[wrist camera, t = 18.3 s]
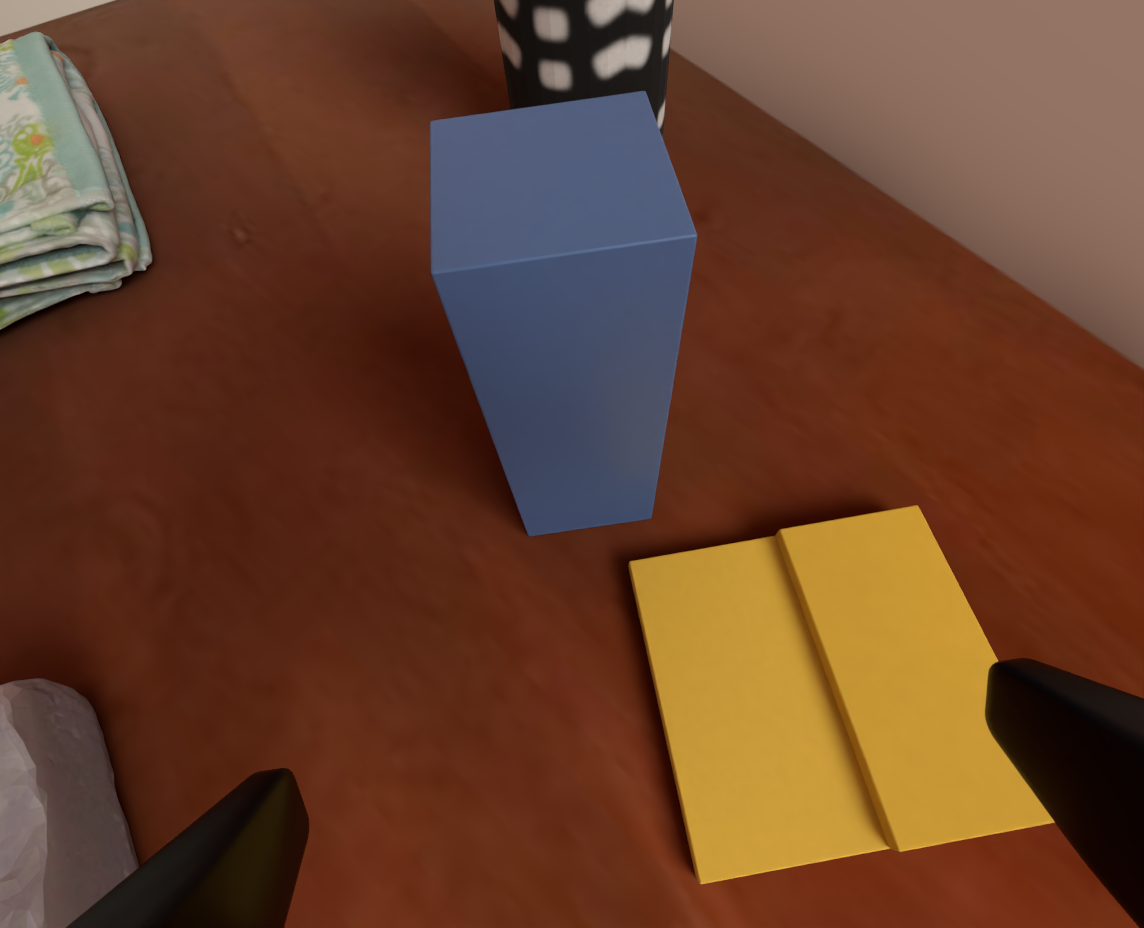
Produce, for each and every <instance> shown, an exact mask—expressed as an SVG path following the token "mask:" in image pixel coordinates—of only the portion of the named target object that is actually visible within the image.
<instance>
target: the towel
mask: <svg viewBox="0 0 1144 928" xmlns="http://www.w3.org/2000/svg"><path fill="white" fill-rule="evenodd" d="M151 263H152V253H151V248H150V241H149V237H148V233H147V231H146V227H145V224H144V221H143V219H142V216H141V214H140V212H139V209H138V207H137V204H136V201H135V199H134V196H133V194H132V192H131V189H130V186H129V182H128V179H127V176H126V174H125V171H124V168H123V165H122V162H121V159H120V156H119V153H118V151H117V149H116V146H115V144H114V141H113V137H112V135H111V133H110V130H109V128H108V126H107V123H106V121H105V119H104V117H103V115H102V113H101V110H100V108H99V106H98V104H97V102H96V101H95V99H94V97H93V95H92V93H91V91H90V90H89V88H88V86H87V84H86V82H85V80H84V78H83V77H82V75H81V74H80V72H79V71H78V70H77V69H76V67H75V66H74V65H73V63H72V62H71V60H70V59H69V58H68V57H67V56H66V55H65V54H63V53H62V52H61V51H60V50H59V49H58V48H57V46H56V45H55V43H54V41H53V40H52V39H51V38H50V37H48V36H46V35H44V34H42V33H40V32H32V33H30V34H27V35H25V36H23V37H20V38H18V39H16V40H12V39H10V40H7V41H6V42H4V43H1V44H0V330H1V329H3V328H5V327H7V326H8V325H10V324H12V323H14V322H15V321H18V320H20V319H22V318H24V317H26V316H28V315H30V314H33V313H34V312H37V311H40V310H42V309H44V308H47V307H49V306H52V305H54V304H56V303H59V302H61V301H63V300H66V299H68V298H70V297H73V296H75V295H79V294H81V293H84V292H86V291H88V292H90V293H96V292H99V291H107V290H114V289H117V288H119V287H120V286H121V284H122V281H121V278H122V277H126V276H129V275H131V274H132V272H133V271H144V270H146V267H147V266H148V265H149V264H151Z"/></svg>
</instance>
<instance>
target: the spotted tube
mask: <svg viewBox="0 0 1144 928" xmlns="http://www.w3.org/2000/svg"><path fill="white" fill-rule="evenodd" d="M673 2H674V0H494V4H495V11H496V17H497V24H498V30H499V37H500V43H501V50H502V56H503V62H504V69H505V75H506V82H507V88H508V95H509V101H510V107H511V110H512V109H519V108H526V107H534V106H541V105H548V104H555V103H562V102H569V101H576V100H583V99H590V98H597V97H605V96H612V95H619V94H626V93H633V92H640V91H645V92H646V94H647V97H648V99H649V102H650V105H651V108H652V111H653V113H654V116H655V119H656V122H657V124H658V127H659V130H660V133H661V136H662V138H663V126H664V114H665V101H666V89H667V76H668V64H669V52H670V39H671V27H672V15H673V14H672V13H673Z"/></svg>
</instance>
